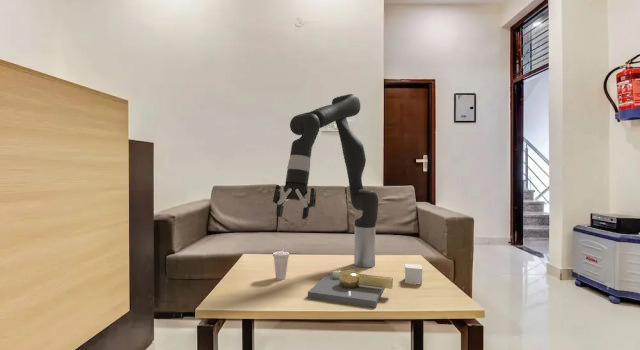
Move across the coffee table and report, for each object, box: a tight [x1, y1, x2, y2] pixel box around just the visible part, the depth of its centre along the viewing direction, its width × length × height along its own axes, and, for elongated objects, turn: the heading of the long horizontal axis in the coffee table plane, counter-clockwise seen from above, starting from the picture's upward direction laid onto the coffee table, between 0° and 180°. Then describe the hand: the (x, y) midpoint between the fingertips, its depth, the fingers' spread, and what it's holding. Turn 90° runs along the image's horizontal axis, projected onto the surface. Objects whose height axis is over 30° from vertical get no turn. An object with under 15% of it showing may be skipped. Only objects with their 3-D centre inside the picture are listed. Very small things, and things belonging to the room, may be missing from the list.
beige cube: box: [404, 263, 423, 285], centre depth 126 cm, size 6×6×6 cm
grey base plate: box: [307, 270, 386, 309], centre depth 115 cm, size 22×22×5 cm
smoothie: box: [272, 241, 290, 281], centre depth 128 cm, size 6×6×14 cm
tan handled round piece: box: [339, 269, 394, 290], centre depth 113 cm, size 18×7×4 cm, turn 71°
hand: (291, 218), depth 110 cm, fingers open, 8 cm apart
